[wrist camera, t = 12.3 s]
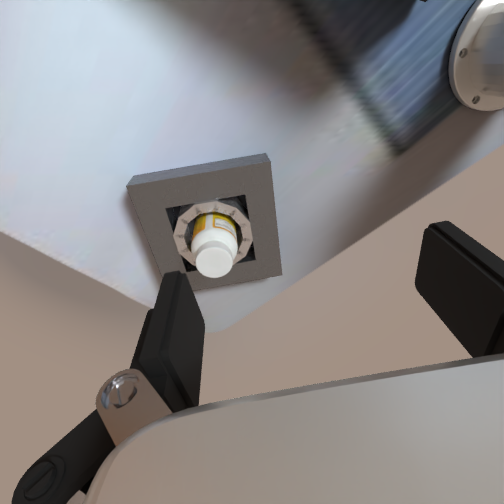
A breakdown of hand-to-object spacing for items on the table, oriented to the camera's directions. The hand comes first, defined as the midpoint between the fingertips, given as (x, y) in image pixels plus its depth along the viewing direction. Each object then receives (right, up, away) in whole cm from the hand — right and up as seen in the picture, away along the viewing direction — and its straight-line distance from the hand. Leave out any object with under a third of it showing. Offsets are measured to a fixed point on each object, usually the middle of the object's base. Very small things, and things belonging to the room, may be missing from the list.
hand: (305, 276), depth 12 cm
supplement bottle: (-7, +5, +28) cm, 29 cm away
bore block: (-7, +5, +28) cm, 29 cm away
